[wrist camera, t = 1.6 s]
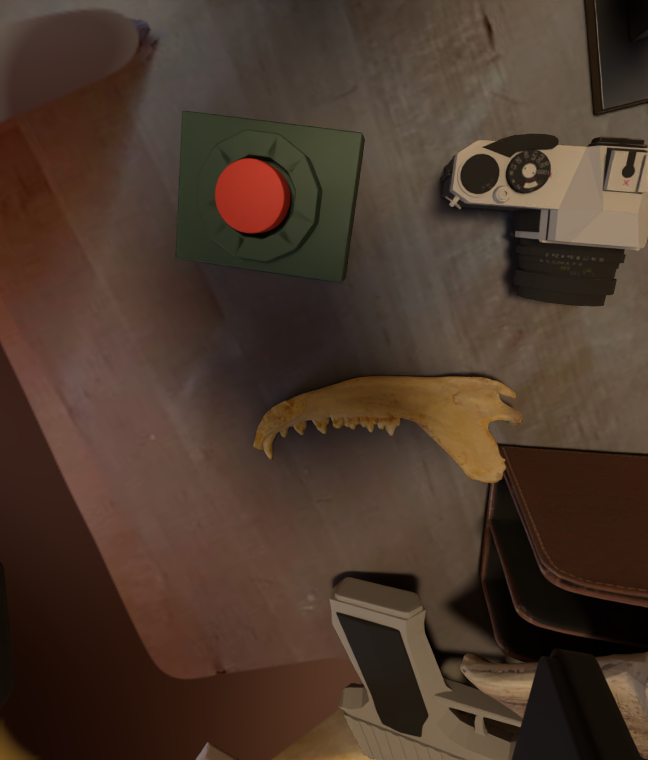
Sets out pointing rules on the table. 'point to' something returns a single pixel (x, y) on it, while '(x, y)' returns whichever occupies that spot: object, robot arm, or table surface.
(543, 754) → the robot arm
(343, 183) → the button block
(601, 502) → the letter holder
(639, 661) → the fragment
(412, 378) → the mandible
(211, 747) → the striped road barrier
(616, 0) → the lever base
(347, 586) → the pistol
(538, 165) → the camera
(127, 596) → the table surface
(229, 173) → the button
